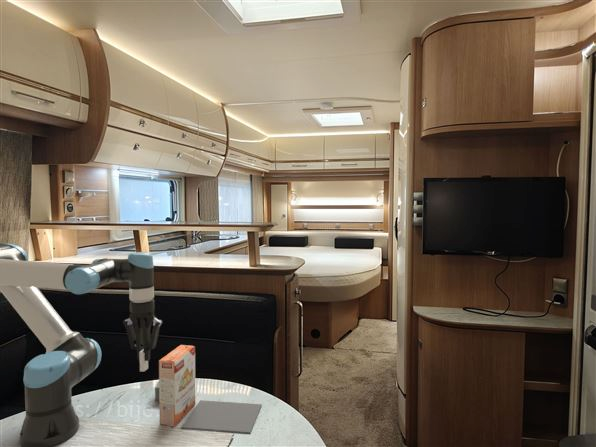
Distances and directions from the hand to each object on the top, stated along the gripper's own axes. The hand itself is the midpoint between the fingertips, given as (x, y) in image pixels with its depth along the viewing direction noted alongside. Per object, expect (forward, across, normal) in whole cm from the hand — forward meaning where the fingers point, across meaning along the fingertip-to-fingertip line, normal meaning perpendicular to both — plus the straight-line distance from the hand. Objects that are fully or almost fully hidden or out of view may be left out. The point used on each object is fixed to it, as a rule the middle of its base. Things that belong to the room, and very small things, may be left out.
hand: (144, 369), depth 128 cm
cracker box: (+15, -12, 0) cm, 19 cm away
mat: (+15, -27, 0) cm, 30 cm away
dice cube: (+15, -2, -10) cm, 18 cm away
